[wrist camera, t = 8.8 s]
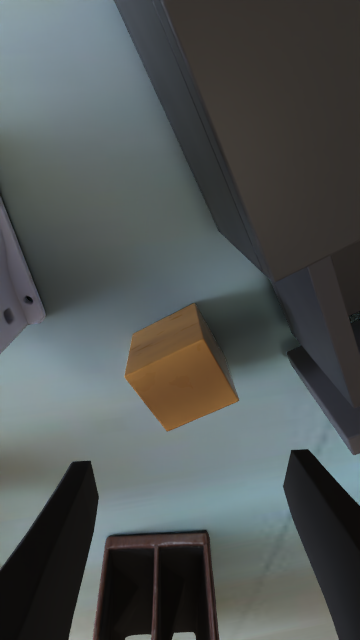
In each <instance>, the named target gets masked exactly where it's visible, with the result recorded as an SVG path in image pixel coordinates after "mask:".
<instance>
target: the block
mask: <svg viewBox="0 0 360 640" xmlns="http://www.w3.org/2000/svg"><path fill="white" fill-rule="evenodd" d="M124 377H125V378H126V380H127V381H128V382H129V384H130V385H131V386H132V387H133V389H134V390H135V391H136V392H137V394H138V395H139V396H140V398H141V399H142V400H143V401H144V403H145V404H146V405H147V407H148V408H149V409H150V410H151V412H152V413H153V414H154V415H155V417H156V418H157V419H158V421H159V422H160V423H161V424H162V426H163V427H164V428H165V429H166V431H170V430H172V429H175V428H177V427H180V426H182V425H184V424H187V423H189V422H191V421H194V420H196V419H198V418H201V417H203V416H205V415H208V414H210V413H212V412H215V411H217V410H219V409H222V408H224V407H226V406H229V405H231V404H233V403H236V402H238V401H239V398H238V395H237V392H236V389H235V386H234V383H233V380H232V377H231V374H230V371H229V368H228V366H227V363H226V360H225V357H224V354H223V353H222V351H221V349H220V347H219V345H218V343H217V342H216V340H215V338H214V336H213V334H212V333H211V331H210V329H209V327H208V325H207V324H206V322H205V320H204V318H203V316H202V315H201V313H200V311H199V309H198V307H197V306H196V304H195V303H193V304H191V305H189V306H187V307H185V308H183V309H181V310H179V311H177V312H175V313H173V314H171V315H169V316H167V317H165V318H163V319H161V320H159V321H157V322H155V323H153V324H151V325H150V326H148V327H146V328H144V329H142V330H140V331H138V332H136V333H134V334H133V336H132V341H131V346H130V351H129V356H128V361H127V365H126V370H125V375H124Z"/></svg>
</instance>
